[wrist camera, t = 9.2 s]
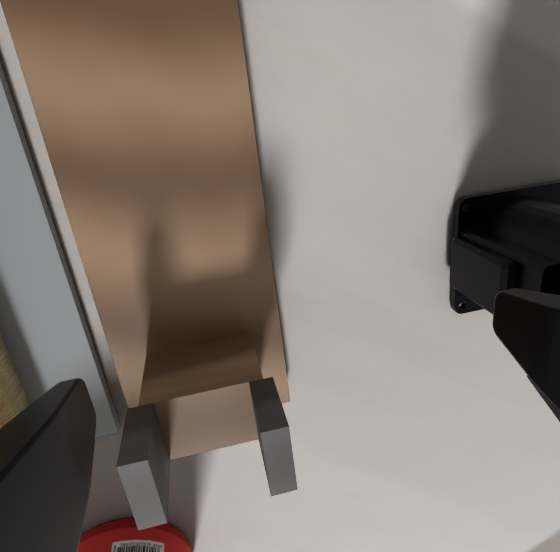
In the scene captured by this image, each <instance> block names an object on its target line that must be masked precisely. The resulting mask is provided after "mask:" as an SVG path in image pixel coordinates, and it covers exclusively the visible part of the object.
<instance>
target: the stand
mask: <svg viewBox="0 0 560 552" xmlns="http://www.w3.org/2000/svg"><path fill="white" fill-rule="evenodd" d="M0 2H1V5H2V8H3V11H4V15H5V18H6V21H7V24H8V27H9V30H10V34H11V37H12V40H13V43H14V46H15V50H16V53H17V56H18V59H19V62H20V66H21V69H22V72H23V75H24V78H25V81H26V85H27V88H28V91H29V94H30V97H31V101H32V104H33V107H34V110H35V113H36V117H37V120H38V123H39V126H40V129H41V132H42V136H43V139H44V142H45V145H46V148H47V152H48V155H49V158H50V161H51V164H52V168H53V171H54V174H55V177H56V180H57V183H58V187H59V190H60V193H61V196H62V199H63V203H64V206H65V209H66V212H67V215H68V219H69V222H70V225H71V228H72V231H73V234H74V238H75V241H76V244H77V247H78V250H79V254H80V257H81V260H82V263H83V266H84V270H85V273H86V276H87V279H88V282H89V285H90V289H91V292H92V295H93V298H94V301H95V305H96V308H97V311H98V314H99V317H100V321H101V324H102V327H103V330H104V333H105V336H106V340H107V343H108V346H109V349H110V352H111V356H112V359H113V362H114V365H115V368H116V372H117V375H118V378H119V381H120V384H121V388H122V391H123V394H124V397H125V400H126V403H127V407H128V409H127V415H126V420H125V425H124V430H123V435H122V441H121V446H120V451H119V456H118V462H117V470H118V473H119V476H120V479H121V482H122V485H123V487H124V490H125V493H126V496H127V499H128V502H129V505H130V507H131V510H132V513H133V516H134V519H135V522H136V525H137V527H138V530H142V529H146V528H150V527H154V526H158V525H162V524H166V523H167V515H168V492H169V470H170V460H173V459H177V458H181V457H186V456H190V455H194V454H198V453H202V452H207V451H211V450H215V449H219V448H223V447H227V446H232V445H236V444H240V443H244V442H248V441H253V440H257V439H259V443H260V447H261V452H262V456H263V461H264V466H265V470H266V475H267V479H268V484H269V488H270V493H271V496H274V495H278V494H282V493H285V492H289V491H293V490H297V483H296V475H295V468H294V461H293V453H292V446H291V439H290V431H289V425H288V422H287V419H286V416H285V413H284V410H283V407H282V404H281V403H285V402H290V396H289V388H288V381H287V373H286V366H285V358H284V350H283V343H282V335H281V328H280V320H279V312H278V305H277V297H276V290H275V282H274V274H273V267H272V259H271V252H270V244H269V236H268V229H267V221H266V214H265V206H264V198H263V191H262V183H261V176H260V168H259V160H258V153H257V145H256V138H255V130H254V123H253V115H252V107H251V100H250V92H249V85H248V77H247V69H246V62H245V54H244V47H243V39H242V31H241V24H240V16H239V9H238V1H237V0H0Z"/></svg>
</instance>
